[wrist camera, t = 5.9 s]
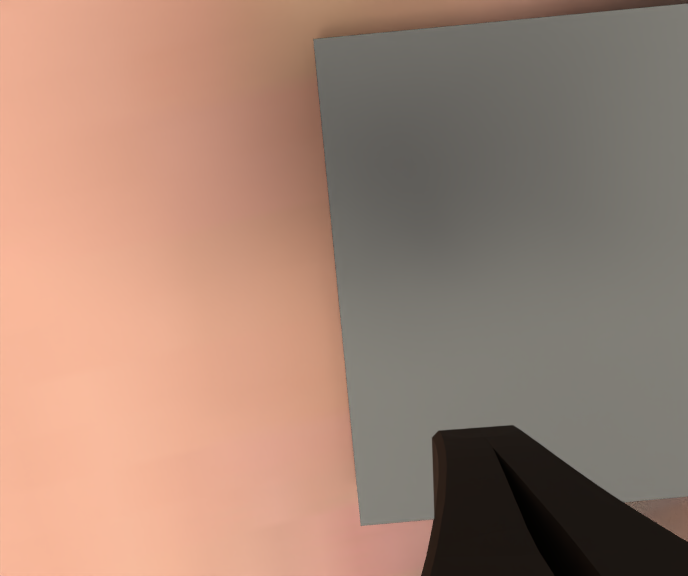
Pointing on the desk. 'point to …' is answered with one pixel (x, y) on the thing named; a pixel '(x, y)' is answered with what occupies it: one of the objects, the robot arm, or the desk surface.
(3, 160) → the desk surface
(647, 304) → the slate plate
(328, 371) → the desk surface
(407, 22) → the desk surface
